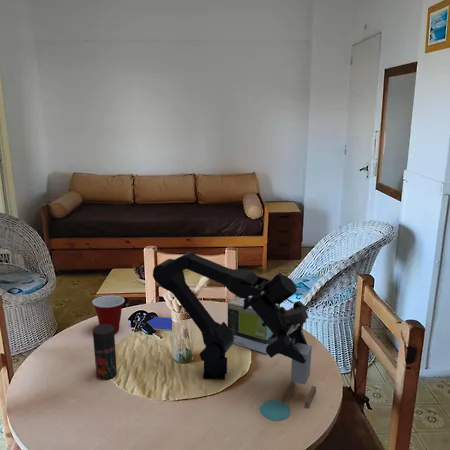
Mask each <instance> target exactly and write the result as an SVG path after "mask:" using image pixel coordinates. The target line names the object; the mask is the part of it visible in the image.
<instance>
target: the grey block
mask: <svg viewBox="0 0 450 450" xmlns="http://www.w3.org/2000/svg"><path fill="white" fill-rule="evenodd" d="M295 346H296V347H297V349H298V350H299V352H300V353H301V355H302V356H303V358H304V359H305V363H303V364H302V363H300V362H298V361H296V360H294V359H291V367H290V372H291V373H290V381H293V382H295V383H296V384H297V383H298V384H301V385H303V386H305V385H307V382H308V380H309V377H310V374H311V363H312V347H313V346H312V345H309V344H308V345H306V344H301V343H297V344H296V345H295Z"/></svg>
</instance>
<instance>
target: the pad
mask: <svg viewBox="0 0 450 450" xmlns="http://www.w3.org/2000/svg"><path fill="white" fill-rule="evenodd" d="M259 411H260V414H261V415H262V416H263V417H265V418H266V419H268V420H271V421H283V420H285V419H287V418H288V417H290V415H291V412H292V411H291V408H290V406H289V405H288V404H287V403H286V402H284V401H282V400H277V399H275V400H274V399H273V400H272V399H271V400H267V401H265V402H263V403H262V404H261V405H260V408H259Z"/></svg>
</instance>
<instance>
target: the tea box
mask: <svg viewBox="0 0 450 450" xmlns="http://www.w3.org/2000/svg"><path fill="white" fill-rule="evenodd" d="M249 297H252V296H249ZM276 305H277V306H278V307H279V308H280V307H281V304H276ZM243 307H244V299H243V298H239V297H238V296H236V297H234V298H233V299H231V300H229V301H228V302H227V327H228V328H229V329H230V330H231V331H232V332H233V333H232V335H233V337H234V342H233V345H234V344H235V345H237V346H241V347H243V348H246V349H250V350H253V351H255V352H256V351H257V352H258V353H263V354H267V353H266V347H267V346H268V344H269V343H270V341H272V340H273V338H272V337H271V336H272V334H273V333H272V332H271V330H270V329H269V328H268V327H267V326H265V327H263V326H262V323H263V321H262V320H261V318H260V317H259V316H258V315H257V314H256V312H255V311H254V310H253V309H252V308H251V306H250V307H248V308H247V309H246V310H244V309H243ZM274 339H275V338H274Z"/></svg>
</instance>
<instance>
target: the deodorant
mask: <svg viewBox="0 0 450 450" xmlns="http://www.w3.org/2000/svg"><path fill="white" fill-rule="evenodd" d="M92 337H93V351H94V365H95V375H96V378H97V380H99V381H110V380H113V379H114V378H116V376H117V374H118V372H117V371H118V369H117V355H116V352H117V351H116V339H115V334H114V327H113V326H112V325H109V324H102V325H100V324H98V325H96V326H95V327H93V329H92Z"/></svg>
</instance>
